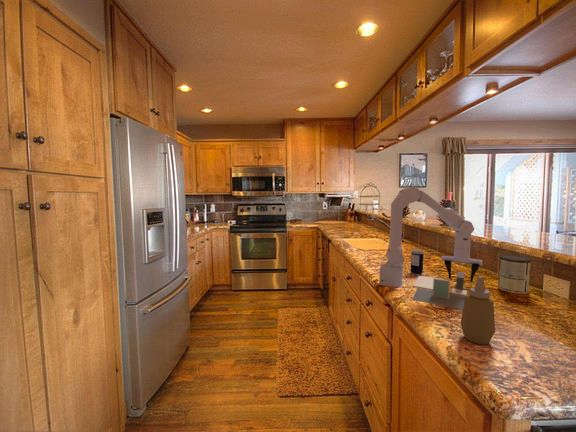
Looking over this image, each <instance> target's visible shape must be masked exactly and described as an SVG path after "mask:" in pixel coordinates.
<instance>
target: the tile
mask: <svg viewBox="0 0 576 432" xmlns="http://www.w3.org/2000/svg"><path fill="white" fill-rule="evenodd" d="M433 278H434V280H433V290H432V291H433V296H436V297H442V298H447V299H449V294H450V289H451V288H450V287H451V279H446V278H441V277H440V278H439V277H433Z"/></svg>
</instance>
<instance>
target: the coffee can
mask: <svg viewBox="0 0 576 432" xmlns="http://www.w3.org/2000/svg"><path fill="white" fill-rule="evenodd" d="M531 262H532V259H531V258H530V257H527V256H523V255H518V254H517V255H514V254H500V255H499V269H498V270H499V271H498V282H497V283H498V285H497V288H498V289H500V290H501V291H504V292H506V293H507V292H508V293H512V294H517V295H518V294H519V295H523V294H525V295H526V294H529V290H530V289H529V288H530V275H531V274H530V273H531Z"/></svg>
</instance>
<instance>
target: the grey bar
mask: <svg viewBox="0 0 576 432" xmlns="http://www.w3.org/2000/svg"><path fill="white" fill-rule="evenodd" d="M464 282H465V272H460V271H458V272H457V274H456V287H455V288H452V291H451V294H454V295H459V296H467V295H468V294H467V293H468V292H467V291H468V290H465V289H464Z"/></svg>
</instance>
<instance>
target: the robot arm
mask: <svg viewBox="0 0 576 432" xmlns="http://www.w3.org/2000/svg"><path fill="white" fill-rule="evenodd" d="M415 202H417V203H423V204H424V205H426V206H428V207H429V208H430V209H431V210H433V211H435V212H436V213H437V214H438V217H439V219H441V220H442V221H443V222H445V223H446V224H447V225H449V226H450V227H451V228H452V229H453V231H455V232H454V249H453V255H452V256H451V255H442V256H441V262H444V267H445V268H446V271H447V274H448V280H451V279H452V263H459V264H466V265H471V271H470V281H469V282H471V283H472V282H473V279H474V277H475V275H476V273H477V272H478V270H479V269H480V266H483V260H482V259H476V258H471V244H472V243H471V242H472V241H471V240H472V233H474V231H475V227H474V224H473V223H472V222H471V221H470V220H466V217H465V216H463V215H460V214H459V213H458V212H456V211H457V209H455V208H451V207H444V206H443V205H442V204H441V203H439V202H438V201H436V200H435V199H434V198H433V197H431V196H430V195H429V194H428V193H426V192H425V191H423V190H421V189H420V188H418V187H416V186H407V187H404V188H403V189H402V190H400V191H398V194H397V195H396V196H395V198H394V199H393V200H392V202H391V203H390V221H389V222H390V223H389V228H390V229H389V243H388V248H387V251H386V252H385V257H386V260H387V261H386V262H385V263H381V264H380V266H379V267H380V268H379V277H378V278H379V280H378V282H379V283H378V285H380V286H385V287H394V288H400V289H401V288H402V287H403V286H404V285H405V282H403V277H404V276H403V275H404V263H405V257H404V256H403V246H402V238H403V237H402V234H403V213H404V208H406V207H407V206H409V205H410V204H413V203H415Z"/></svg>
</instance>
